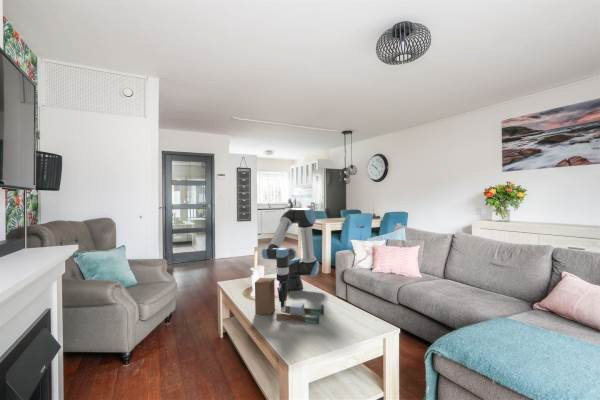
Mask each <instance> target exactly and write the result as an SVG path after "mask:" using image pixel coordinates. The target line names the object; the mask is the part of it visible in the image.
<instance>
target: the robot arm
mask: <svg viewBox="0 0 600 400" xmlns="http://www.w3.org/2000/svg"><path fill="white" fill-rule="evenodd" d="M316 219H317V217H316V213H315V210H314V209H313V208H309V207H308V208H307V207H301V208H300V207H298V208H297V207H292V208H290V209H288V210H287V211H285V212H284V213H283V214H282V216H281V217H280V219H279V224H278V226H277V227H276V230H275V231H274V232H275V233H274V234H273V236H272V238H271V240H270V242H269V245H268V247H262V251H261V256H262V258H263V259H265V260H275V261H276V267H275V269H276V281H278V282H279V283H278V287H277V295H278V302H280V313H286V312H287V311H286V306H287V302H288V291H299V290H302V289H304V288H303V287H304V284H303V281H302V278H301V277H302V276H306V277H316V276H317V275H318V273H319V269H320V262H319V261H318V260H317V257H316V256H315V253H314V240H313V229H312V228H313V226H314V224H315V223H316ZM293 224H297V226H298V228H299V229H300V239H301V250H302V258H300V257H296V256H297V251H296V249H295V248H293V247H288V248H287V247H281V246H282V243H283V241H284V240H285V238H286V234H287V233H288V230H289V229H290V227H292V225H293ZM287 289H289V290H287ZM286 301H287V302H286Z"/></svg>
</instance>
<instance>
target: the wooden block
mask: <svg viewBox="0 0 600 400" xmlns="http://www.w3.org/2000/svg"><path fill="white" fill-rule="evenodd" d="M275 290H276V289H275V278H273V277H271V278H270V277H269V278H268V277H259V278H258V279H257V280H256V281H255V282H254V303H255V304H254V306H255V307H254V309H255V311H254V313H255V315H268V316H269V315H272V313H273V312H274V311H275V309H276V308H275V307H276V305H275V304H276V300H275V299H276V297H275V294H276V292H275Z"/></svg>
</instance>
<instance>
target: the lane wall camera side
mask: <svg viewBox="0 0 600 400" xmlns="http://www.w3.org/2000/svg"><path fill="white" fill-rule="evenodd" d="M275 316H276V317H275V318H276V320H282V321H288V322H289V321H291V322H300V323H306V324H307V323H308V324H316V325H319V324H320V315H319V313H318V312H317V313H316V314H315V316H307V315H304V316H299V315H290V313H289V314H288V313H281V312H279V313H278V312H276V314H275Z"/></svg>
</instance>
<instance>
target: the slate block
mask: <svg viewBox="0 0 600 400" xmlns="http://www.w3.org/2000/svg"><path fill="white" fill-rule="evenodd" d="M289 306H290V312H289V314H290V315H299V316H305V313H304V307H305V303H304V302H295V301H293V302H292V304H291V305H289Z"/></svg>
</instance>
